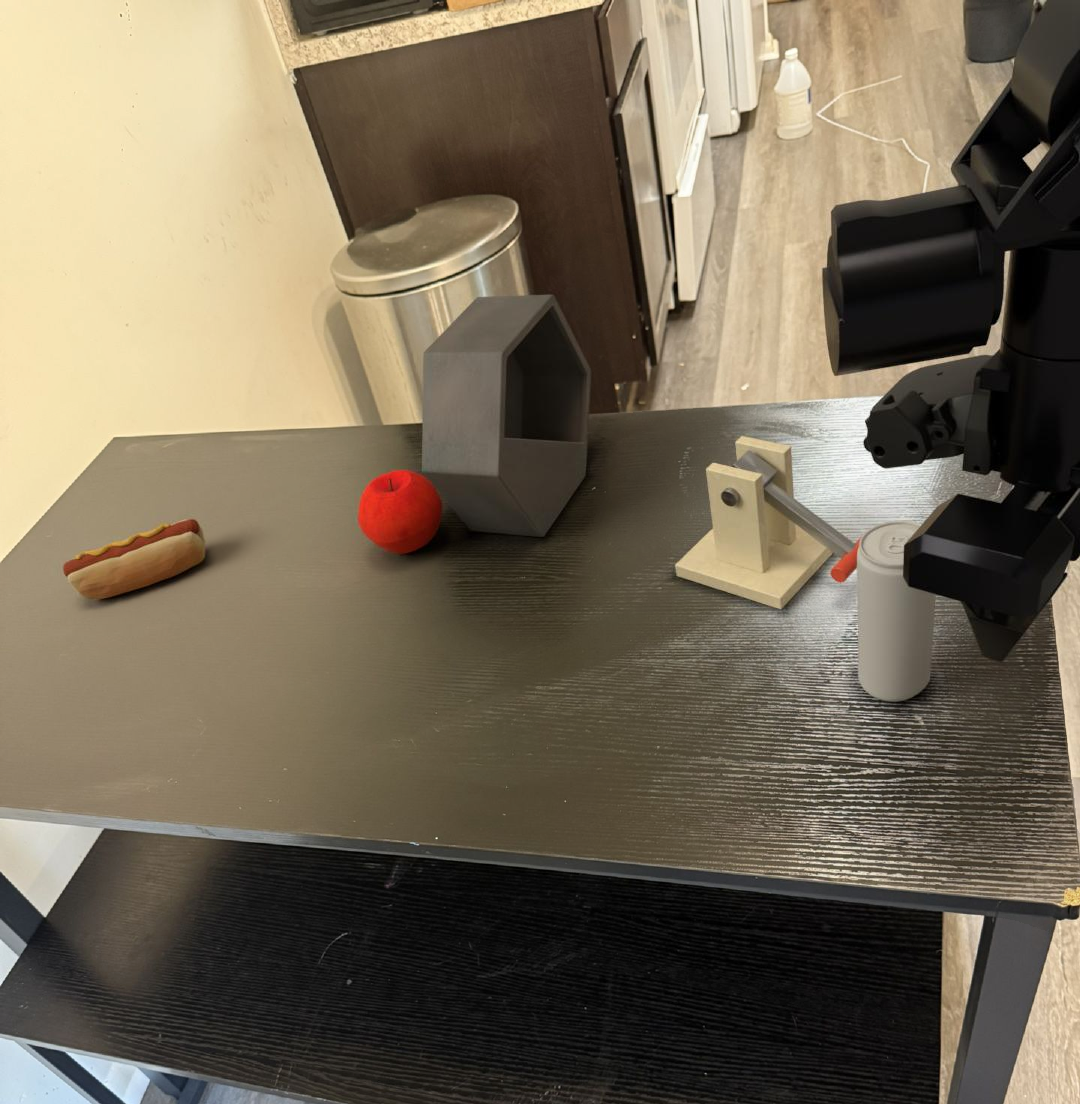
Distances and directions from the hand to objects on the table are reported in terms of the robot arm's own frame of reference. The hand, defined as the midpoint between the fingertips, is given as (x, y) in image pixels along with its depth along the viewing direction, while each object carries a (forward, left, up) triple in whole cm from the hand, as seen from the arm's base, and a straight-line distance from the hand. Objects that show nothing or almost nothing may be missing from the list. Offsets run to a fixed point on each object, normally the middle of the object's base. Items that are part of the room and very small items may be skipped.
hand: (1031, 606), depth 54 cm
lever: (+8, -24, -8) cm, 26 cm away
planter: (+28, -43, -13) cm, 53 cm away
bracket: (+10, -26, -13) cm, 31 cm away
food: (+68, -45, -13) cm, 83 cm away
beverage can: (+4, -9, -13) cm, 17 cm away
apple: (+40, -40, -13) cm, 58 cm away
